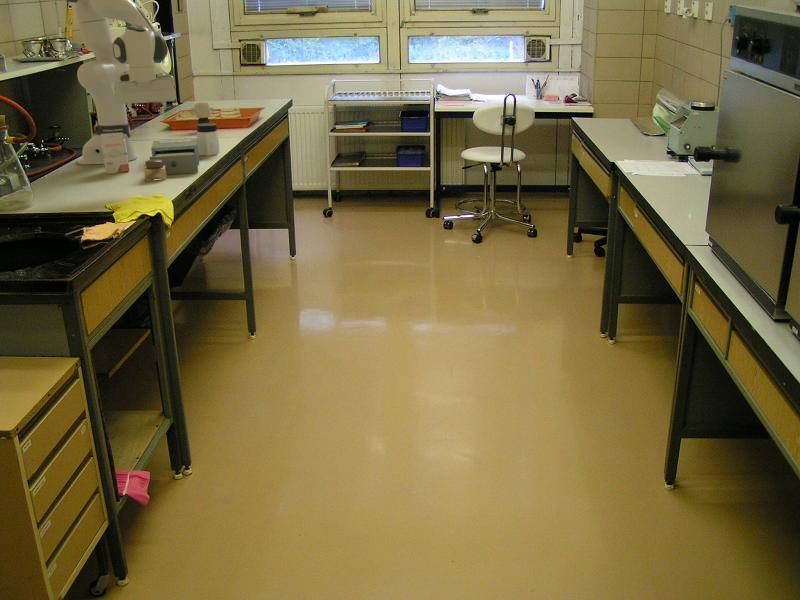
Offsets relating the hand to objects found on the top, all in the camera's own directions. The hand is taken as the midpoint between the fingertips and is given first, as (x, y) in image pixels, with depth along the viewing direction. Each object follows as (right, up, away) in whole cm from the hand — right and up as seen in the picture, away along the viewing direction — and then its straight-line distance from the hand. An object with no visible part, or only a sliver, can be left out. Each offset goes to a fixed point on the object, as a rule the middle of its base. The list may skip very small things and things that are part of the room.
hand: (148, 115), depth 300 cm
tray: (+4, -16, +21) cm, 27 cm away
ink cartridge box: (-18, -17, +22) cm, 33 cm away
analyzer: (+1, -11, +36) cm, 37 cm away
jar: (+10, -5, +51) cm, 52 cm away
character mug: (-5, +15, +107) cm, 108 cm away
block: (0, -21, +8) cm, 22 cm away
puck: (0, -17, +6) cm, 18 cm away
